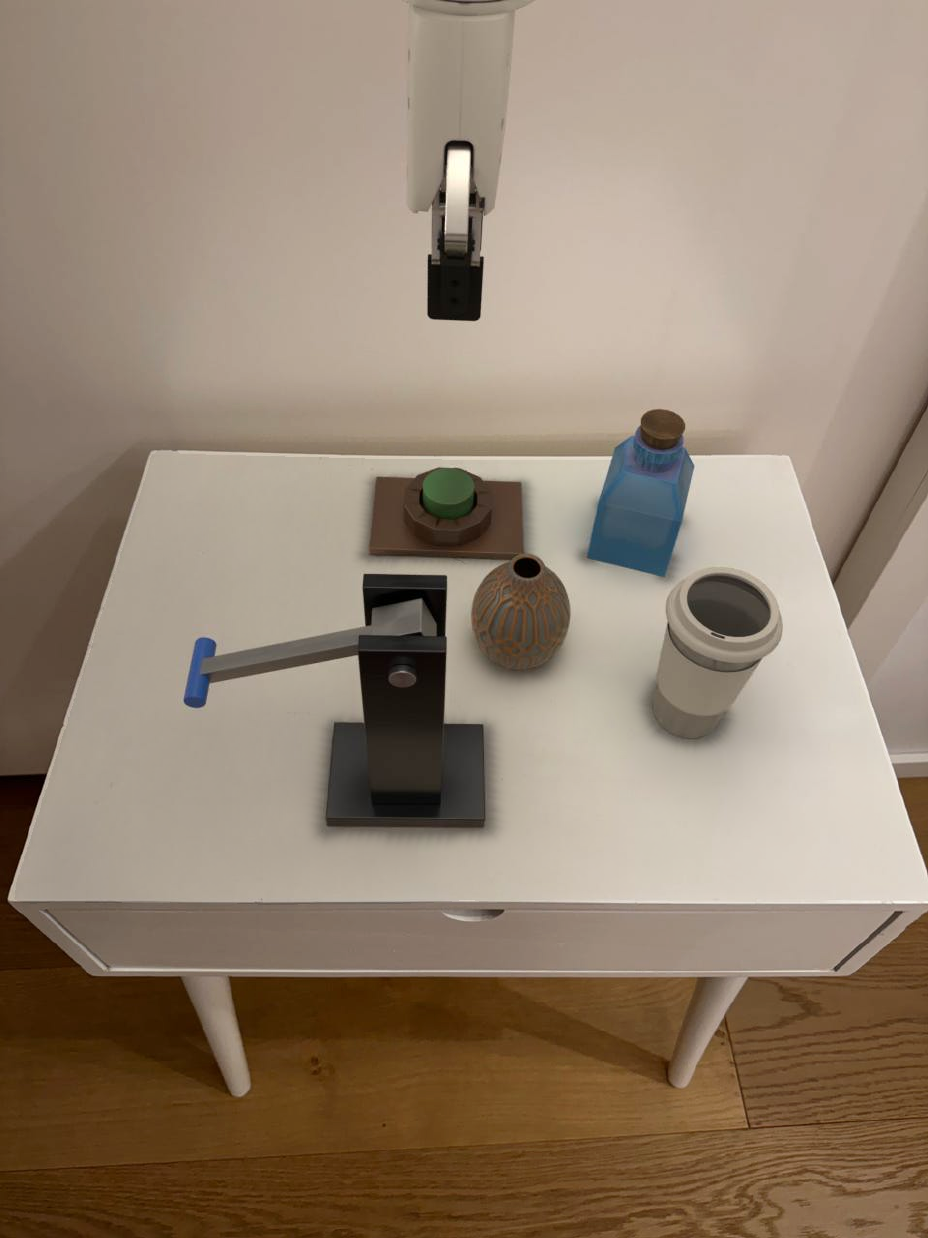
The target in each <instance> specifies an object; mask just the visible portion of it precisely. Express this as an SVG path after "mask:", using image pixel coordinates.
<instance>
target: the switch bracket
mask: <svg viewBox="0 0 928 1238" xmlns="http://www.w3.org/2000/svg"><path fill="white" fill-rule="evenodd" d="M361 589H362V601H363V602H362V603H363V615H364V626H370V625H371V624H372V609H373V608H375V607H380V606H385V605H390V604H395V603H400V602H405V601H410V600H415V599H420V598H422V599H423V601H424V602H425V604H426V606H427V608H428V610H429V611H430V613H431V615H432V617H433V619H434V620H435V622H436V624H437V635H436V636H395V635H359V638H358V655H357V660H358V661H357V662H358V671H359V681H360V682H359V683H360V693H361V703H362V714H363V715H362V716H363V717H362V718H363V722H355V721H354V722H352V721H351V722H350V721H335V722H334V723H333V730H332V740H331V751H330V762H329V763H330V765H329V775H328V783H327V784H328V785H327V787H328V788H327V799H326V809H325V823H326V826H327V827H389V828H391V827H393V828H394V827H398V828H401V827H402V828H406V827H407V828H485V826H486V777H485V776H486V775H485V736H484V735H485V734H484V733H485V732H484V731H485V730H484V723H445V707H446V684H447V683H446V681H447V657H448V649H447V648H448V638H447V636H446V630H447V606H448V605H447V602H448V575H447V574H413V573H412V574H409V573H408V574H407V573H406V574H404V573H363V575H362V587H361Z"/></svg>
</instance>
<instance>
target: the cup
mask: <svg viewBox="0 0 928 1238" xmlns="http://www.w3.org/2000/svg"><path fill="white" fill-rule="evenodd" d="M777 600H778V599H777V598H776V596H775V595H774V593H773V592H772V590H771V589H770V588H769V587H768V586H767V585H766V584H765V583H764V582H763V581H761V580H760V579H759V578H757V577H756V576H754V575H752V574H750V573H748V572H745V571H743V570H741V569H738V568H734V567H727V566H711V567H706V568H705V567H704V568H702V569H699V570H697V571H695V572H693V573H692V574H690V575H689V576H687V577H685V578H684V579H681V580H680V581H679V582H677V584H676V585H675V586H674V587H673V588H672V589H671V591H670V592H669V594H668V596H667V598H666V601H665V616H666V621H667V622H666V627H665V631H664V637H663V642H662V647H661V651H660V656H659V661H658V665H657V670H656V684H655V685H656V686H655V691H654V695H653V700H652V712H653V715H654V717H655V720H656V721H657V723H658V724H659V725H660V727H662V728H663V729H664V730H665V731H667V732H668V733H669V734H672V735H674V736H676V737H680V738H682V739H698V738H702V737H703V738H704V737H705V736H707V735H709V734H710V733H712V732H713V731H714V729H715V728H716V727H717V725H718V724H719V722H720V721H721V719H722V718H723V716H724V715H725V713H726V711H727V710H729V708H731V707H732V705H734V703H735V701H736V700H737V698H738V697H739V696H740V694H741V692H742V691H743V689H744V688H745V686H746V685H747V683H748V682H749V681H750V679H751V678H752V676H753V674H754V672H755V671H756V669H757V668H758V666H759V665H760V663H761V662H762V660H763V659H764V658H765V657H767V656H768V655H769V654H771V653H772V652H774V651H775V649H776V648H777V647H778V646H779V644H780V642H781V639H782V636H783V631H784V624H783V616H782V613H781V611H780V607H779V603H778V601H777Z"/></svg>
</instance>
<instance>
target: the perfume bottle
mask: <svg viewBox="0 0 928 1238" xmlns="http://www.w3.org/2000/svg"><path fill="white" fill-rule="evenodd" d="M685 430H686V422H685V421H684V418H682V417H681V416H680V415H679V414H678V413H676V412H675V411H671V410H669V409H663V408H656V409H651V410H648V411H646V412H645V413H643V414H642V415H641V418H640V425H639V426H638V427H637V429H636V430H635V433H634V435H630V436H629V437H628V438H626V439H625V440H623V441H622V442H621V443H619V444H618V445H616V446H615V447H614V450H613V452H612V456H611V459H610V463H609V466H608V469H607V473H606V476H605V479H604V482H603V485H602V489H601V492H600V496H599V499H598V502H597V506H596V511H595V517H594V521H593V525H592V530H591V535H590V540H589V545H588V549H587V553H586V559H590V560H595V561H598V562H602V563H605V564H611V565H615V566H619V567H623V568H627V569H630V570H635V571H638V572H643V573H647V574H651V575H655V576H658V577H663V578H665V577H666V574H667V570H668V567H669V565H670V561H671V558H672V555H673V551H674V548H675V545H676V542H677V539H678V535H679V532H680V530H681V526H682V524H683V520H684V515H685V510H686V505H687V501H688V496H689V492H690V488H691V483H692V479H693V474H694V469H695V464H694V462H693V459H692V458H691V456H690V454H689V452H688V450H687V449H686V447H685V446H684V443H685V442H684V441H685V440H684V439H685V437H684V433H685Z"/></svg>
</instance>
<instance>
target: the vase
mask: <svg viewBox="0 0 928 1238" xmlns="http://www.w3.org/2000/svg"><path fill="white" fill-rule="evenodd" d="M470 612H471V613H470V617H471V618H470V619H471V628H472V629H471V630H472V633H473V635H474V638H475V641H476V644H477V645H478V647H479V649H481V651H482V652H483V653H484V654H485V656H486V657H487V658H489V659H490V660H491V661H493V662H494V663H496V664H497V665H500V666H502V667H505V668H508V669H514V670H526V669H532V668H536V667H538V666H541V665H542V664H544V663H546V662H548V660H550V659H551V658H553V656H555V654H556V653H557V652H558V651H559V649H560V648H561V646H562V645H563V643H564V642H565V640H566V637H567V636H568V632H569V628H570V623H571V615H572V614H571V613H572V611H571V603H570V599H569V594H568V592H567V589H566V587H565V585H564V583H563V581H562V580H561V579H560V577H559V576H558V575H557V574H556V572H554V571H553V570H552V569H550V568H549V567H548V566H546V564H545V563H544V561H543V560H542V558H540V557H538V555H535V554H532V553H524V554H520V555H517V556H515V557H514V558H513V559H510V560H509V561H507V562H504V563H502V564H500V565H498V566H497V567H495V568H493V569H492V570H491V571H489V573H488V574H486V576H485V577H484V578H483V579H482V580H481V583H480V584H479V586H478V587H477V588H476V591H475V594H474V597H473V600H472V603H471V611H470Z"/></svg>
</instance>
